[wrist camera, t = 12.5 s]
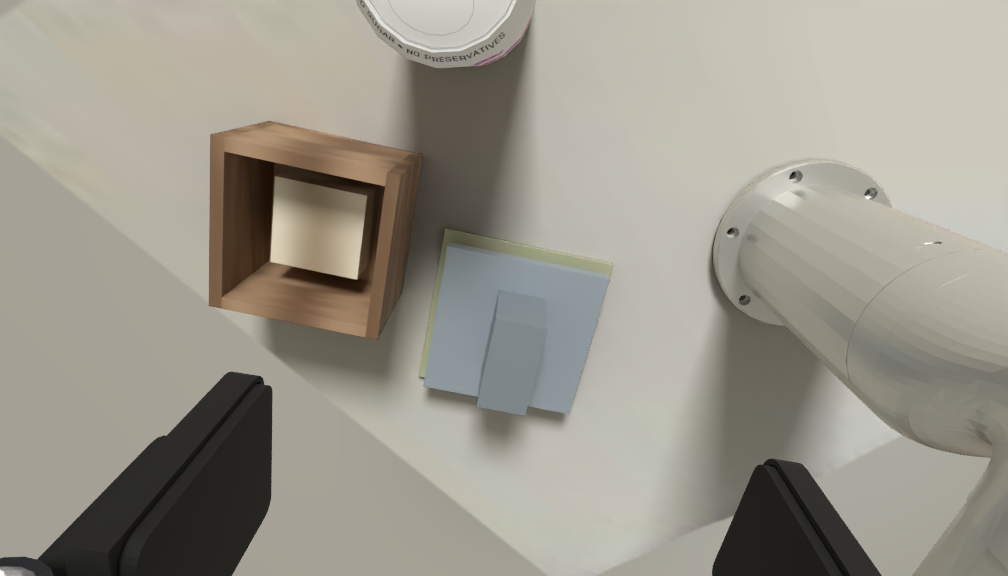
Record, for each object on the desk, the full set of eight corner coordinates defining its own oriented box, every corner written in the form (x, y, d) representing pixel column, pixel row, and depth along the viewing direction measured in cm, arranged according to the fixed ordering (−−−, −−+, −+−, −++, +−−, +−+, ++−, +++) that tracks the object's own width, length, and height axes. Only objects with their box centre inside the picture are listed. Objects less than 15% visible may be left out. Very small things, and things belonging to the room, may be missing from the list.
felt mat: (612, 263, 42) (613, 265, 42) (569, 403, 47) (569, 406, 47) (445, 228, 41) (444, 229, 41) (419, 373, 46) (418, 376, 46)
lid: (605, 269, 42) (621, 307, 35) (567, 400, 46) (574, 454, 40) (451, 238, 41) (437, 270, 35) (427, 373, 46) (411, 424, 39)
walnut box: (423, 154, 39) (400, 175, 32) (401, 292, 44) (377, 339, 36) (269, 121, 39) (210, 134, 31) (262, 264, 43) (208, 305, 36)
